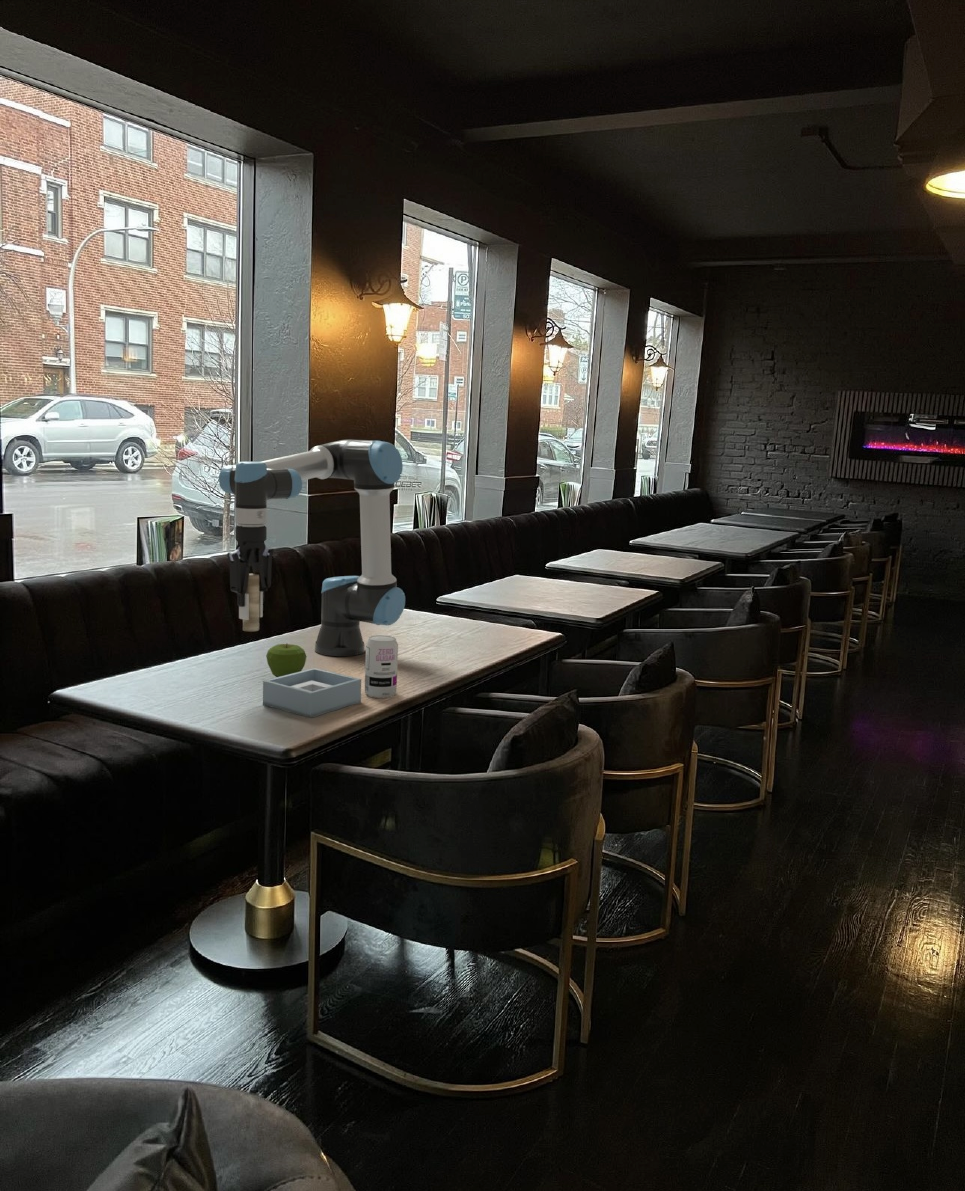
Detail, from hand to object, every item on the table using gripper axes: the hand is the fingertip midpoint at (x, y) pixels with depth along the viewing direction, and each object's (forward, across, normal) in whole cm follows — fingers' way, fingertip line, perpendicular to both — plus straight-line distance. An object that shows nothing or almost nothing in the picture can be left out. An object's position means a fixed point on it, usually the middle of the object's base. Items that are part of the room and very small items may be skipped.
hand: (250, 617), depth 242 cm
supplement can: (+20, +22, -24) cm, 39 cm away
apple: (+20, +16, +4) cm, 26 cm away
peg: (+3, 0, 0) cm, 3 cm away
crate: (+20, +4, -17) cm, 27 cm away
